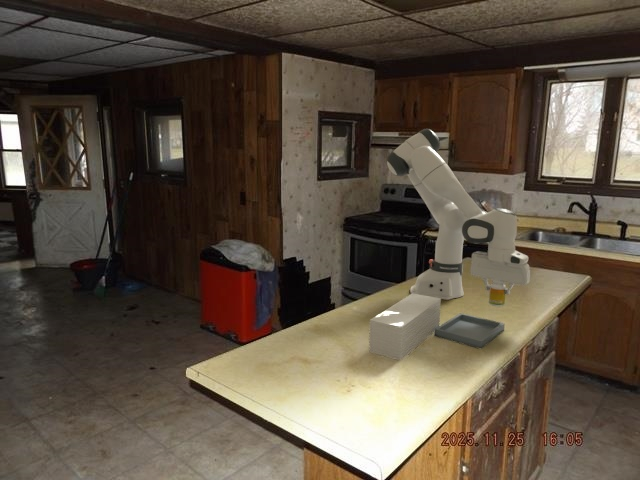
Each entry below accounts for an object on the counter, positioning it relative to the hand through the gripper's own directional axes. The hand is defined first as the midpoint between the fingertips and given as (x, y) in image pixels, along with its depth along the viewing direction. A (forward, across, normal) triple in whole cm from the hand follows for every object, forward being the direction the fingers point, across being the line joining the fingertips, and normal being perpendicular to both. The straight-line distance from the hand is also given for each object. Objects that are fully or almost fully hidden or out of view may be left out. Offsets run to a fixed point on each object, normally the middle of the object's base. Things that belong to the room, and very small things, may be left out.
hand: (497, 292), depth 171 cm
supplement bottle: (+5, 0, 0) cm, 5 cm away
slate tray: (+11, -3, -17) cm, 21 cm away
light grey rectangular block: (+12, -17, -35) cm, 41 cm away
